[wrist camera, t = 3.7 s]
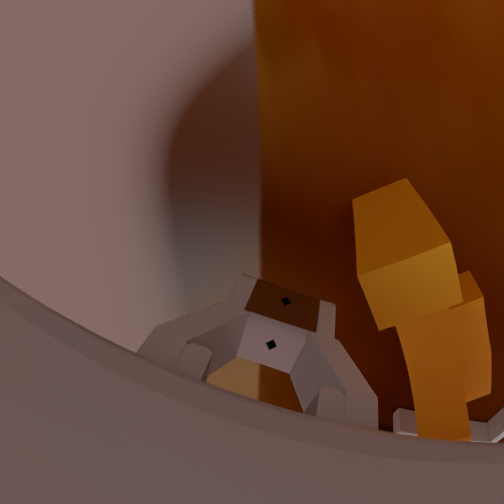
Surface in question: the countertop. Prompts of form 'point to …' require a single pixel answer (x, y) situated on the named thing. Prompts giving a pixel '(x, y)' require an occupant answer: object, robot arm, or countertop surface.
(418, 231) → the pipe clamp
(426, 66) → the countertop surface
